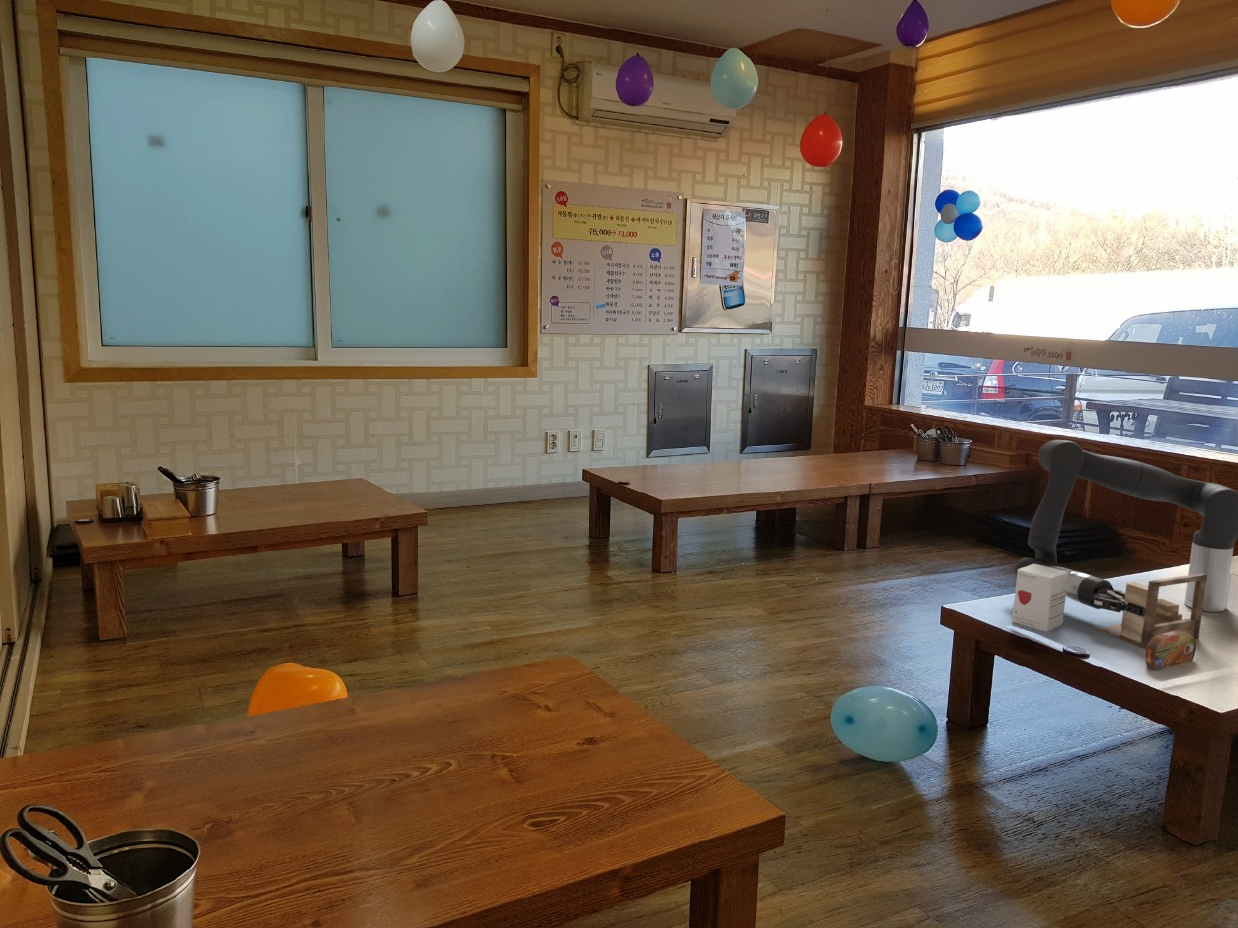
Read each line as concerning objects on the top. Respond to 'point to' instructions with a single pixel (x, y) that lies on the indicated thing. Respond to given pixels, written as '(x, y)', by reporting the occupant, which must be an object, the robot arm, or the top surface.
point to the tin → (1170, 649)
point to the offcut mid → (1167, 618)
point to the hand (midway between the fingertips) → (1149, 611)
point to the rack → (1151, 606)
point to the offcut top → (1167, 607)
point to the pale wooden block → (1130, 621)
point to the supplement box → (1040, 597)
